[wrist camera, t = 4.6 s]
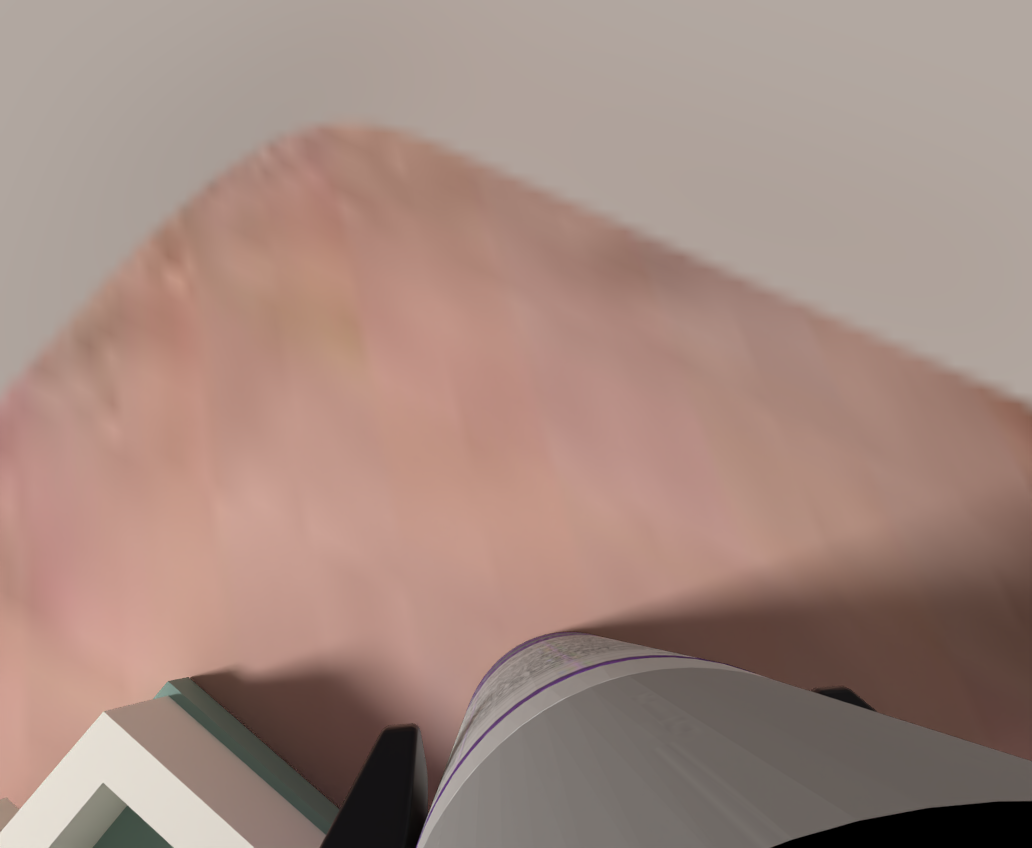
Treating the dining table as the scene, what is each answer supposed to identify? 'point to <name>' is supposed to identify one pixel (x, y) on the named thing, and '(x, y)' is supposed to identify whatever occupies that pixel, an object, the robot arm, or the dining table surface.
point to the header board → (170, 785)
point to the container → (704, 762)
